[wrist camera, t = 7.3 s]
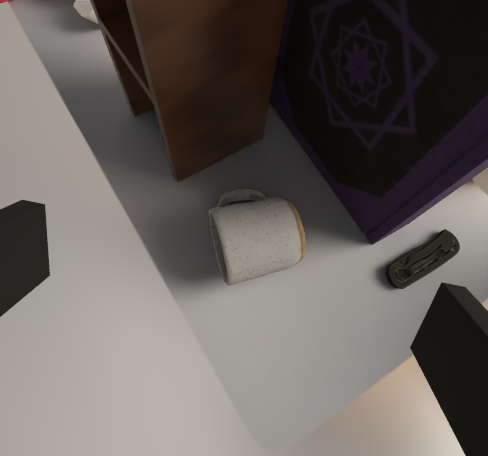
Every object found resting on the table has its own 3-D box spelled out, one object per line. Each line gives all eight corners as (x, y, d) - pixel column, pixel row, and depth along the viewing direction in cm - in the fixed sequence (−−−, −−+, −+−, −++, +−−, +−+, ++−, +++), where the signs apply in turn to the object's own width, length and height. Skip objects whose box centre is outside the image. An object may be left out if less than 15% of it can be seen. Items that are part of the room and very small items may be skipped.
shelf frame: (177, 182, 39) (105, -102, 15) (130, 110, 42) (7, -221, 18) (262, 138, 42) (318, -160, 18) (212, 74, 45) (201, -253, 21)
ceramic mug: (299, 271, 36) (318, 249, 29) (226, 293, 35) (226, 275, 28) (268, 187, 40) (277, 148, 33) (200, 204, 38) (195, 167, 31)
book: (410, 222, 39) (888, -118, 11) (368, 246, 38) (793, -72, 10) (301, 80, 46) (426, -355, 18) (261, 96, 44) (329, -349, 16)
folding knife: (459, 251, 38) (443, 229, 39) (468, 248, 37) (450, 225, 38) (396, 294, 36) (379, 269, 37) (402, 292, 35) (385, 267, 35)
